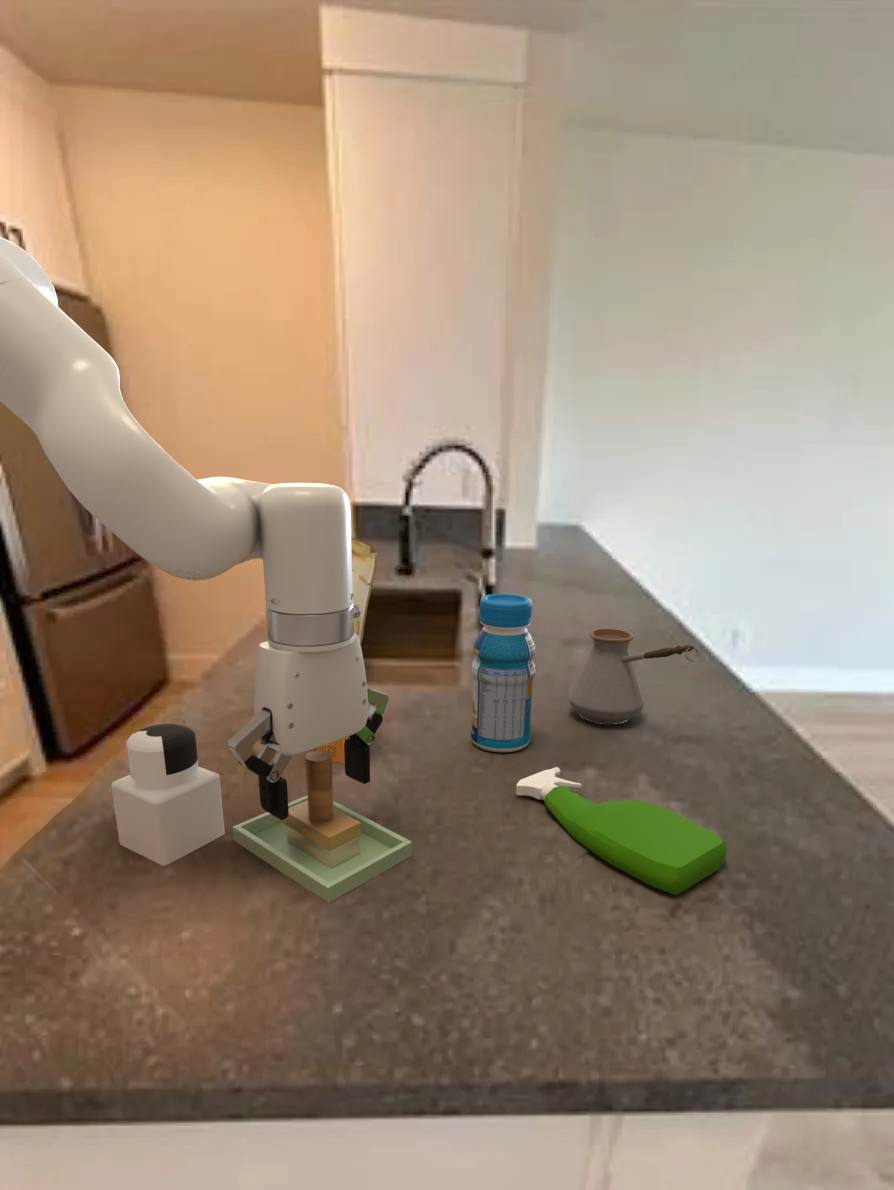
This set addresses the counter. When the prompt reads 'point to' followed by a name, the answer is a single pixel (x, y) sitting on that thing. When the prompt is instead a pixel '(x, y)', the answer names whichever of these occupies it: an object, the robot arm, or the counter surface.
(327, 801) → the brush
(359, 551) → the pancake mix bag
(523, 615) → the beverage bottle
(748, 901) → the counter surface
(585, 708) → the coffee pot
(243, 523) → the robot arm
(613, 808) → the spray bottle
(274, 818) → the tray
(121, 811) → the medicine bottle
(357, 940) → the counter surface
